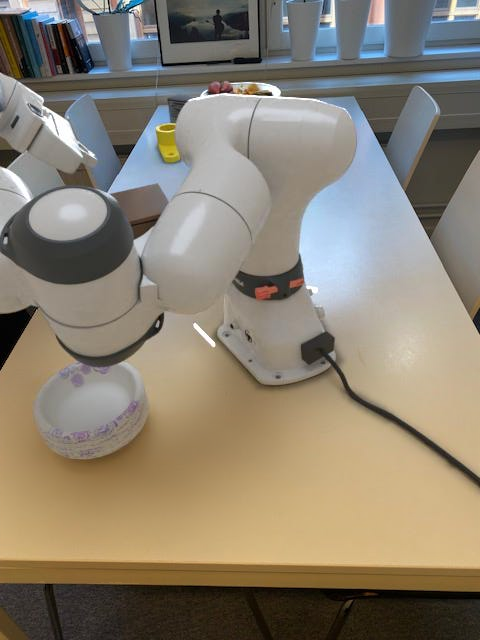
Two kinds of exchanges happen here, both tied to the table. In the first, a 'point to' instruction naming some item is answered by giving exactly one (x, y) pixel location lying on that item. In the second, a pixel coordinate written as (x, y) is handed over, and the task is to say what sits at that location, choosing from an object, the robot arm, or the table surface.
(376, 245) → the table surface
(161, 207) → the tote lid
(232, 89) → the bowl
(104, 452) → the paper bowls
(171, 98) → the small box
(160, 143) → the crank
